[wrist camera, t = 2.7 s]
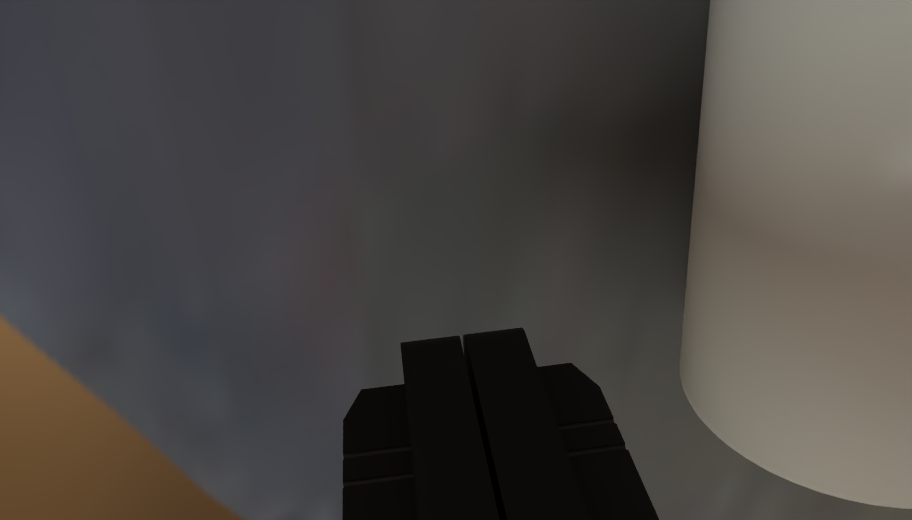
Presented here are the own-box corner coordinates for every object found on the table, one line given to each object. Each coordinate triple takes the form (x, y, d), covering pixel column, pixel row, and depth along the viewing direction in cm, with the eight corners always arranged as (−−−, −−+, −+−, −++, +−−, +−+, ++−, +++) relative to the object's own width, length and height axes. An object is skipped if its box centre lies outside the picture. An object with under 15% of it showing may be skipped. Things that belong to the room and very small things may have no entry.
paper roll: (662, -151, 15) (870, -122, 9) (1025, -180, 15) (1459, -171, 9) (638, 315, 20) (760, 537, 14) (913, 283, 20) (1149, 486, 14)
